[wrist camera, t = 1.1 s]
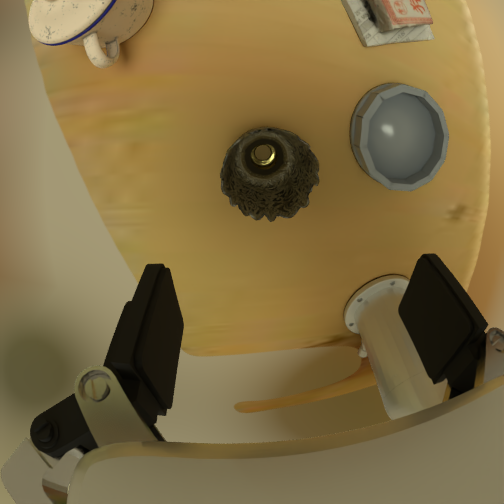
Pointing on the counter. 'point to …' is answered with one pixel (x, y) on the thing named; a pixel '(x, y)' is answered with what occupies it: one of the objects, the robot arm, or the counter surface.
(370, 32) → the packaged product
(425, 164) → the blue-grey plate
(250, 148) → the dark rounded textured piece
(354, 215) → the counter surface
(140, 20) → the teacup with lid
